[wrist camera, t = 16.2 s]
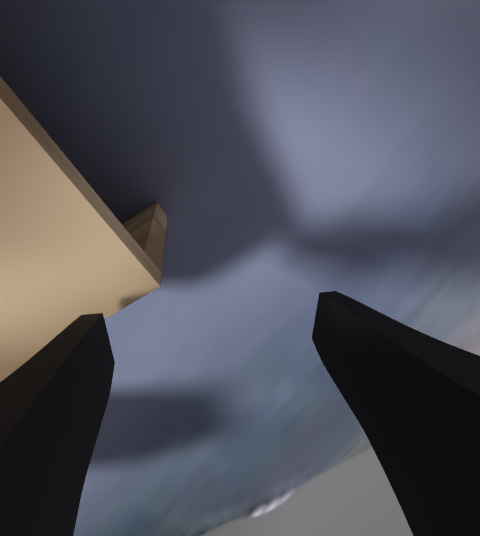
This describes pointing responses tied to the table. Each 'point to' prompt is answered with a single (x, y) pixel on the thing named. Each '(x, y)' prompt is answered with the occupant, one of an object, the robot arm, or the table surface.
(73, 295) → the wooden box
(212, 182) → the table surface
